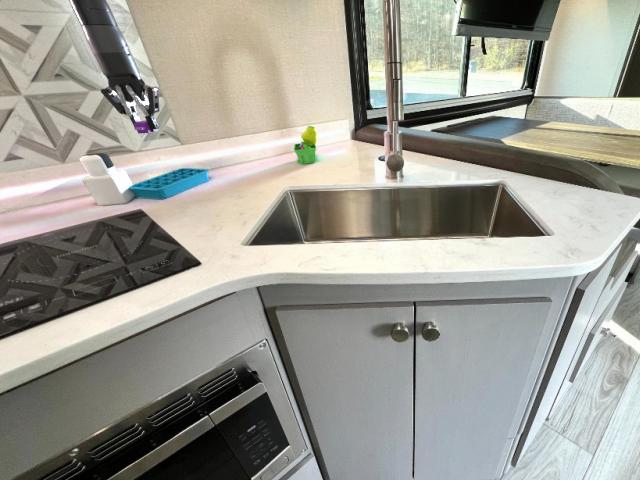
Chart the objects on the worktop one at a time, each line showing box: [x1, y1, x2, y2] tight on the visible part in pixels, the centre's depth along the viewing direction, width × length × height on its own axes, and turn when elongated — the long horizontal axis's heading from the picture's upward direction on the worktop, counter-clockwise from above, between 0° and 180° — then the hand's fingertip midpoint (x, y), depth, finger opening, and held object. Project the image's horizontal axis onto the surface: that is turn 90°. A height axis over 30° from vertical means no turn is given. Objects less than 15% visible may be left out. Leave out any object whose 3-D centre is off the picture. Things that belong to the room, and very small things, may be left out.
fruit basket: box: [293, 125, 318, 165], centre depth 114 cm, size 11×9×11 cm
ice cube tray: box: [128, 167, 210, 200], centre depth 94 cm, size 12×20×3 cm, turn 165°
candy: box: [132, 119, 160, 134], centre depth 85 cm, size 3×7×2 cm, turn 1°
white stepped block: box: [78, 152, 137, 207], centre depth 84 cm, size 7×7×12 cm
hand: (148, 131), depth 86 cm, fingers closed on candy, 3 cm apart
